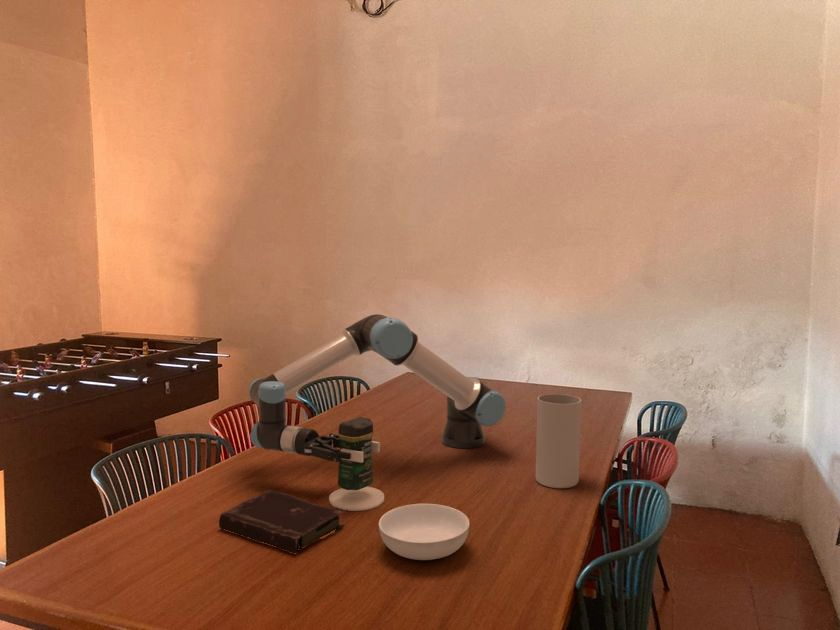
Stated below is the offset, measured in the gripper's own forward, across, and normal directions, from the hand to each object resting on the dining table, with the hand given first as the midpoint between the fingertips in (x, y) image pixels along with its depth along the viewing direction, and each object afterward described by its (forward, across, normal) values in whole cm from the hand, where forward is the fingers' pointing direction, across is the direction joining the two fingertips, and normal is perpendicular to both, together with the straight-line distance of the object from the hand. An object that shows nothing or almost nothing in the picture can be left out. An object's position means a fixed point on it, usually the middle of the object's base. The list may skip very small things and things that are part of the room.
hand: (371, 452), depth 179 cm
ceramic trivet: (-5, 0, -14) cm, 15 cm away
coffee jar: (-5, 0, -10) cm, 11 cm away
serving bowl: (+24, +18, -14) cm, 34 cm away
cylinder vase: (+42, -37, -14) cm, 58 cm away
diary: (-12, +23, -15) cm, 30 cm away
